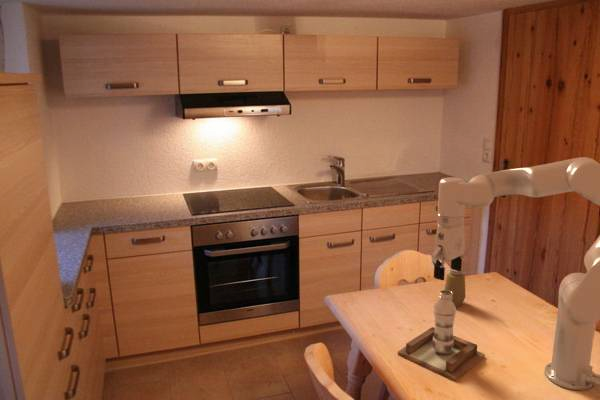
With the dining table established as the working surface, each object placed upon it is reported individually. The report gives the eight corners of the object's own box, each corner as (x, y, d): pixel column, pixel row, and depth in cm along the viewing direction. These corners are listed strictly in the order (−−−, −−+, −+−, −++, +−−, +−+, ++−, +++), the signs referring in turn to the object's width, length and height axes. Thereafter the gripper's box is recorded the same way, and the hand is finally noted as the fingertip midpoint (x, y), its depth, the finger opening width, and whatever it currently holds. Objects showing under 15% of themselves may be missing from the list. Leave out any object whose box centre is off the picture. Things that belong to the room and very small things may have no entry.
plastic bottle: (454, 358, 151) (458, 298, 147) (431, 355, 153) (435, 296, 148) (452, 347, 158) (456, 289, 153) (430, 345, 159) (434, 287, 154)
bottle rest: (484, 357, 154) (485, 345, 153) (455, 381, 142) (455, 368, 141) (428, 334, 168) (429, 323, 167) (397, 354, 156) (398, 342, 155)
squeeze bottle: (467, 302, 192) (470, 258, 187) (461, 310, 185) (465, 265, 181) (446, 297, 196) (449, 254, 191) (440, 305, 189) (443, 261, 185)
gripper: (446, 228, 136) (443, 286, 140) (476, 216, 148) (473, 269, 152) (423, 223, 142) (420, 279, 146) (454, 211, 153) (451, 263, 157)
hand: (447, 274), depth 149 cm, fingers open, 9 cm apart
